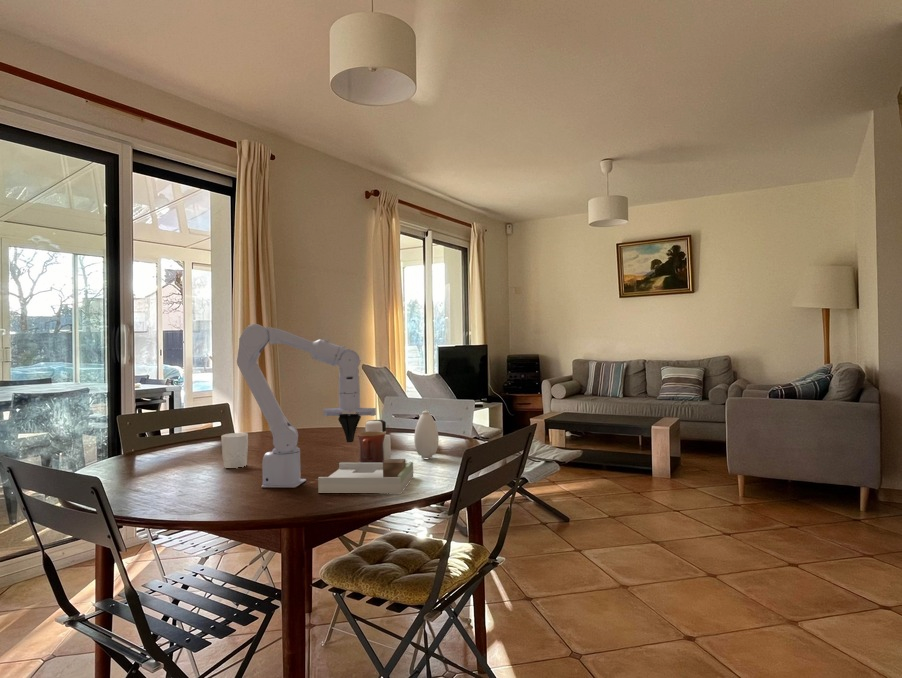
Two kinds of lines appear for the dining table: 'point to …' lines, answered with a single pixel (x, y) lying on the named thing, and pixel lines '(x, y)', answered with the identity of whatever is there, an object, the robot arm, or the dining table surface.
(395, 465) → the block
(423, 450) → the sauce bottle
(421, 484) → the dining table surface
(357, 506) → the dining table surface
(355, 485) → the tray
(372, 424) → the container
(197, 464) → the dining table surface
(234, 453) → the white cup
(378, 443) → the mug
